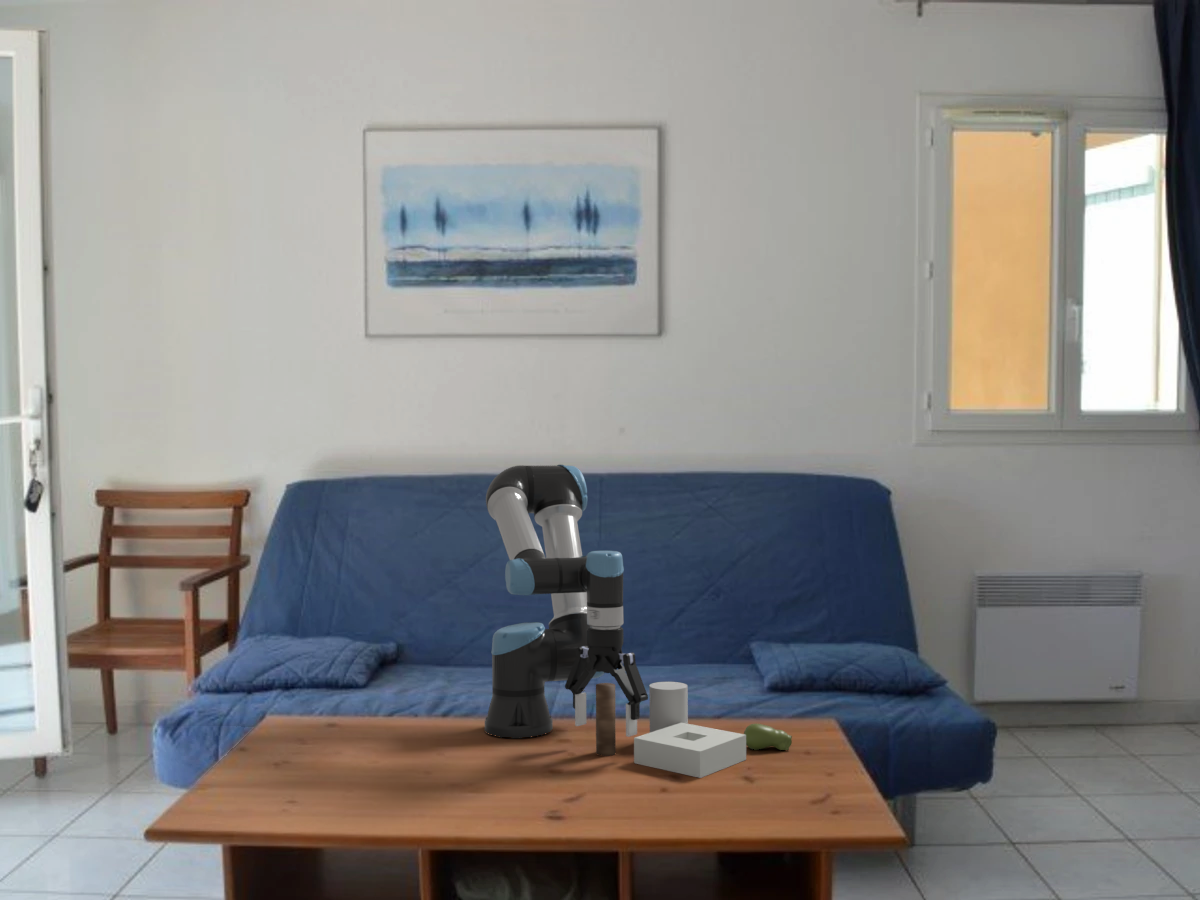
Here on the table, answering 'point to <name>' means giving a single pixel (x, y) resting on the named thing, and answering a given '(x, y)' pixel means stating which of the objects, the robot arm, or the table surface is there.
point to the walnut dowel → (605, 719)
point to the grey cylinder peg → (667, 704)
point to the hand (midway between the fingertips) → (605, 730)
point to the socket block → (690, 749)
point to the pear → (766, 737)
